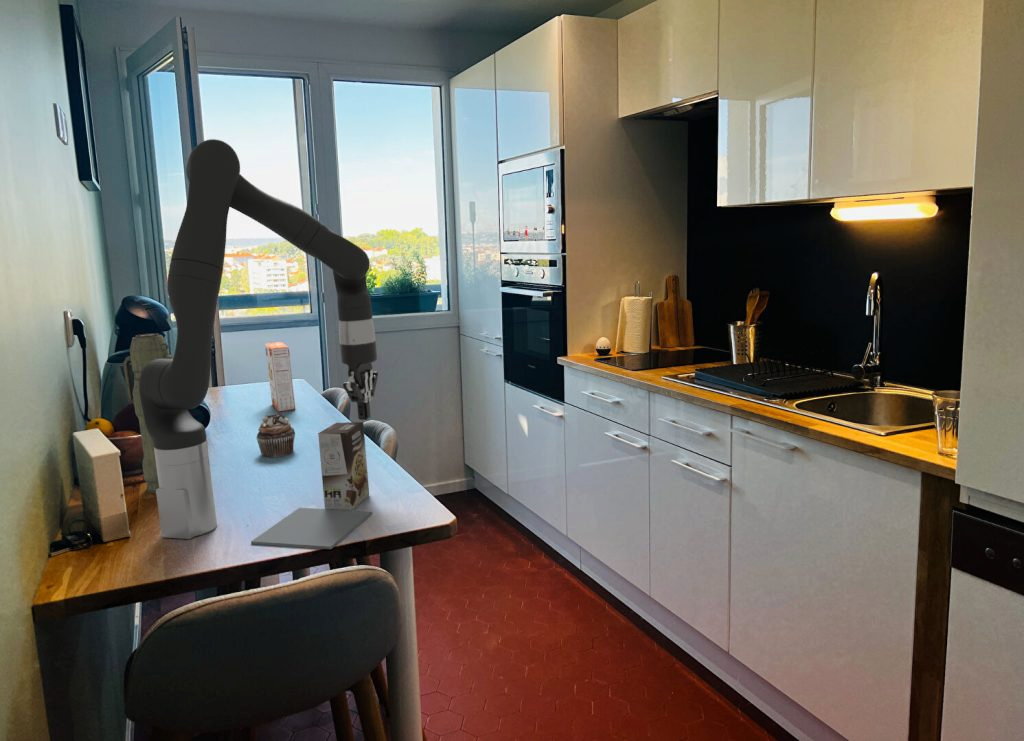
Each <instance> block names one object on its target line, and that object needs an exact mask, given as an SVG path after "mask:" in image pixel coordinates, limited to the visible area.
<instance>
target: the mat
mask: <svg viewBox="0 0 1024 741" xmlns="http://www.w3.org/2000/svg"><path fill="white" fill-rule="evenodd" d="M372 514H373V511H372V510H371V511H370V510H369V511H368V510H367V511H366V510H354V509H353V510H334V509H325V508H311V507H298V508H297V509H295V510H294V511H293V512H291V513H290V514H288V515H287V516H286V517H284V518H282V519H281V520H279V521H277V523H275V524H274V525H272V526H271V527H270V528H268V529H267V530H264V532H262V533H261V534H260V535H258V536H256V537H255V538H254V539H252V540H251V541H250V544H251V545H259V546H260V545H263V546H276V547H279V546H280V547H291V548H292V547H293V548H307V549H320V550H321V549H324V550H332V549H333V548H334V547H336V546H337V545H338V544H339V543H340V542H341V541H343V540H344V539H345V538H346V537H348V536H349V534H351V533H352V532H353V531H354V530H356V528H357V527H359V526H360V525H361V524H362V523H363V522H365V521H366V520H367V519H368V518H370V517H371V515H372Z"/></svg>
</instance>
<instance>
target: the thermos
mask: <svg viewBox="0 0 1024 741" xmlns="http://www.w3.org/2000/svg"><path fill="white" fill-rule="evenodd" d="M168 348H169V347H168V344H167V342H166V340H165V338H164V336H163V335H162V334H160V333H142V334H137V335H135V336H134V337H132V338H131V342H130V347H129V354H130V355H128V356H126V357H125V359H124V361H123V362H122V365H123V367H122V368H123V372H124V373H123V374H124V380H125V388H126V393H127V394H126V395H127V398H128V402H129V403H132V405H133V406H134V413H135V415H136V417H137V418H138V423H139V429H140V431H139V432H140V436H141V437H140V438H141V444H142V452H143V459H142V470H143V479H144V481H145V483H146V484H145V485H146V491H147V493H150V494H156V490H157V489H158V488H159V482H158V474H157V467H156V459H155V452H154V446H153V440H152V438H151V436H150V435H149V433H148V431H147V429H146V425H145V420H144V415H143V410H142V405H141V399H140V393H139V380H140V375H141V372H142V370H143V368H144V367H145V366H146V365H147V364H148V363H149V362H151V361H153V360H156V359H173V358H174V354H170V353H169V349H168ZM130 363H131V364H130ZM131 368H132V371H131ZM132 373H133V374H134V375H133V376H134V377H133V379H132ZM133 383H134V384H133Z"/></svg>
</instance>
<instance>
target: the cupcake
mask: <svg viewBox="0 0 1024 741" xmlns="http://www.w3.org/2000/svg"><path fill="white" fill-rule="evenodd" d="M261 419H262V423H260V426H259V427H258V432H257V434H256V440H257V444H258V447H259V451H260V454H261V456H262V457H266V458H279V457H284V456H288V455H290V454H292V453H294V442H295V436H296V432H295V428H294V427H292V426H291V423H290V421H289V418H287V417H286V415H284V414H283V413H281V412H278V413H275V414H269V415H268V414H266V415H265V416H263V417H262V418H261Z"/></svg>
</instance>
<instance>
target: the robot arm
mask: <svg viewBox="0 0 1024 741" xmlns="http://www.w3.org/2000/svg"><path fill="white" fill-rule="evenodd" d="M185 174H186V178H187V181H188V193H187V203H186V208H185V212H184V215H183V218H182V221H181V223H180V226H179V230H178V232H177V236H176V239H175V242H174V246H173V249H172V254H171V258H170V263H169V268H168V273H167V274H168V275H167V279H166V280H167V281H166V289H167V290H166V291H167V296H168V301H169V302H170V307H171V309H172V313H173V316H174V319H175V322H176V333H177V334H176V343H175V348H174V349H175V350H174V354H173V355H174V358H173V359H156V360H153V361H151V362H149V363H148V364H147V365H146V366H145V367H144V368H143V370H142V372H141V375H140V380H139V393H140V399H141V405H142V410H143V415H144V420H145V425H146V429H147V431H148V433H149V435H150V436H151V438H152V440H153V446H154V452H155V459H156V467H157V474H158V482H159V488H158V489H157V490H156V493H155V494H156V503H157V510H158V516H159V523H160V530H161V537H162V538H167V539H168V538H169V539H182V540H184V539H186V540H191V539H192V538H194V537H197V536H201V535H204V534H207V533H210V532H211V531H213V530H214V529H216V527H217V525H218V522H217V513H216V504H215V503H216V502H215V498H214V489H213V480H212V472H211V464H210V457H209V447H208V441H207V431H206V427H205V426H204V424H202V423H201V422H199V421H198V420H197V419H195V418H194V417H193V416H192V414H191V413H190V411H189V410H193V409H195V408H196V409H197V408H198V407H199V406H200V405H201V404H202V403H203V401H204V400H205V399H206V396H207V394H208V391H209V386H210V382H211V381H210V379H211V366H212V349H213V348H212V347H213V346H212V345H213V335H214V334H213V333H214V329H215V328H214V327H215V320H216V313H217V312H216V311H217V304H218V299H219V294H220V290H221V283H222V277H223V271H224V263H225V256H226V245H227V231H228V230H227V227H228V217H229V211H230V209H231V208H232V209H234V210H235V211H237V212H238V213H241V214H243V215H244V216H246V217H248V218H250V219H252V220H253V221H255V222H257V223H259V224H260V225H262V226H264V227H265V228H267V229H268V230H271V231H272V232H274V233H275V234H277V235H278V236H279V237H281V238H283V239H284V240H285V241H287V242H289V243H290V244H291V245H293V246H295V247H296V248H297V249H299V250H300V251H302V252H304V253H305V254H307V255H309V256H311V257H313V258H315V259H317V260H319V261H320V262H321V263H323V264H324V265H325V266H326V267H328V268H330V269H331V270H332V274H333V280H334V286H335V291H336V295H337V296H336V297H337V299H336V300H337V303H336V304H337V314H338V315H337V316H338V337H339V338H338V339H339V348H340V349H339V350H340V358H341V359H340V360H341V362H342V364H343V365H347V370H348V371H347V376H348V379H347V381H345V382H343V384H342V387H343V389H344V391H345V392H346V395H347V396H348V397H349V399H350V402H351V403H355V404H356V405H357V406H356V407H357V415H358V420H361V421H367V420H369V419H371V417H372V416H371V408H370V407H371V406H370V402H371V401H372V397H374V396H375V391H376V387H377V382H378V376H379V372H378V371H374V370H373V365H372V364H373V363H374V362H376V361H377V359H378V354H377V343H376V342H377V341H376V332H375V324H374V320H373V311H372V310H373V309H372V301H371V296H370V293H369V292H368V288H367V273H368V272H369V269H370V266H371V265H370V258H369V256H368V254H367V253H366V251H365V250H364V249H362V248H361V247H360V246H358V245H357V244H355V243H353V242H352V241H350V240H349V239H347V238H346V237H343V236H341V235H340V234H338V233H336V232H335V231H333V230H331V228H329V227H328V226H326V224H324V223H323V222H321V221H320V220H318V219H317V218H316V217H314V216H312V214H310V213H308V212H307V211H305V209H302V208H300V207H298V206H296V205H294V204H292V203H291V202H288V201H286V200H283V199H280V198H279V197H276V196H273V195H271V194H269V193H267V192H265V191H264V190H262V189H260V188H258V187H257V186H256V185H254V184H253V183H251V182H250V181H249V180H247V178H245V177H244V176H243V175H242V174H241V164H240V159H239V156H238V154H237V152H236V151H235V149H234V148H233V147H232V146H231V145H230V144H228V143H227V142H226V141H224V140H221V139H217V138H213V139H212V138H211V139H206V140H203V141H201V142H200V143H198V144H197V145H196V146H195V147H194V148H193V149H192V151H191V152H190V154H189V157H188V160H187V163H186V170H185Z"/></svg>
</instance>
